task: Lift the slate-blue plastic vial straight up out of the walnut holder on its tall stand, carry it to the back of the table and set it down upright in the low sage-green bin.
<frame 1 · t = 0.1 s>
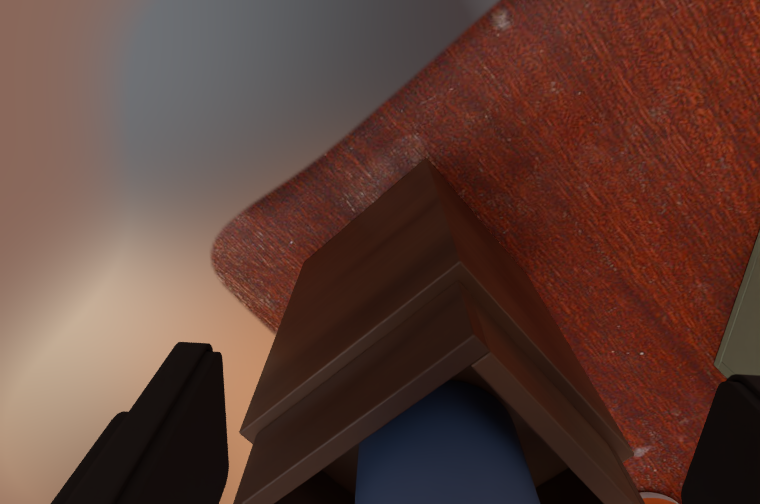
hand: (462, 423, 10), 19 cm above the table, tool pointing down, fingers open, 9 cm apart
stand: (437, 444, 17), on the table
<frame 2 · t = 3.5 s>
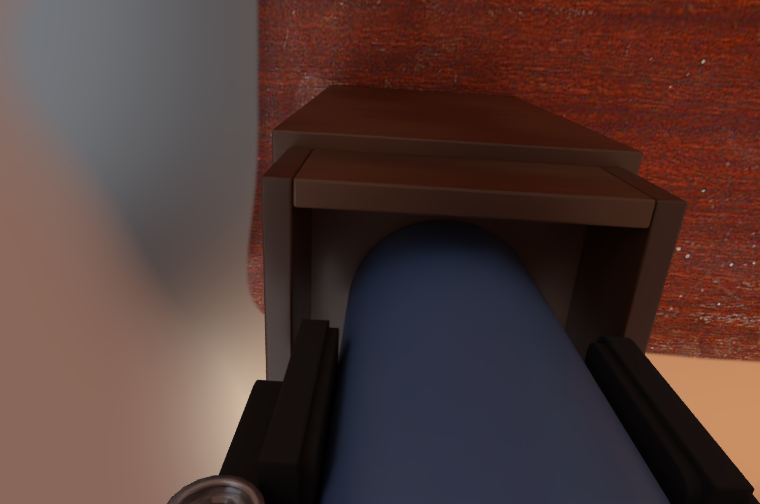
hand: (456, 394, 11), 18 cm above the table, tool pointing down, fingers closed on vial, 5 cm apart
stand: (439, 307, 14), on the table
vial: (461, 415, 10), in the stand, point 18 cm above the table, touching gripper
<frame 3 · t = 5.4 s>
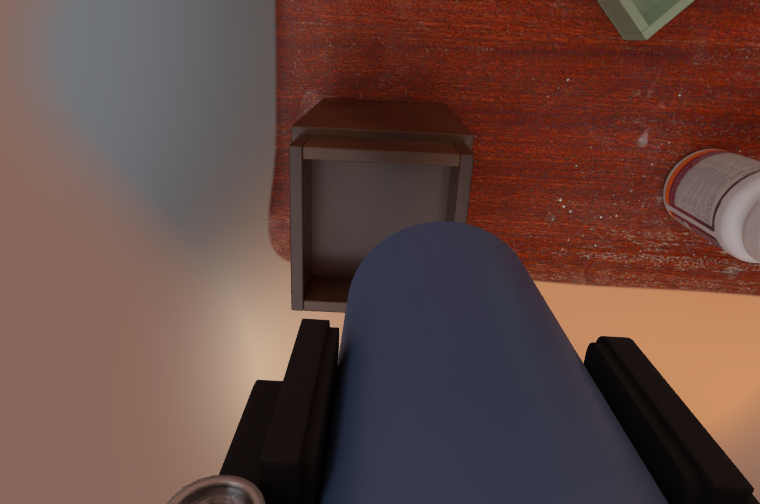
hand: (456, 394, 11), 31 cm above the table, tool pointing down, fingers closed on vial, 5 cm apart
pill bottle: (698, 185, 41), on the table
stand: (378, 217, 28), on the table
vial: (460, 416, 10), point 32 cm above the table, touching gripper
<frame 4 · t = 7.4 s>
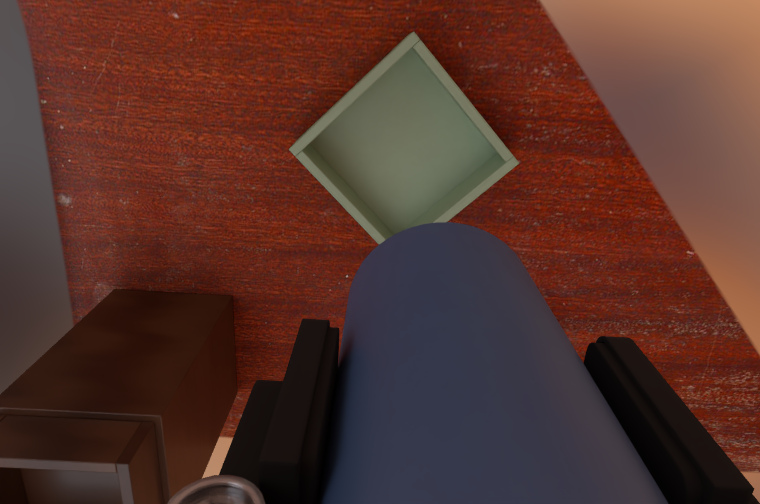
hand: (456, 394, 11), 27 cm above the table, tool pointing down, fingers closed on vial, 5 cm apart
stand: (86, 478, 29), on the table
vial: (461, 418, 10), point 28 cm above the table, touching gripper
bin: (402, 146, 36), on the table
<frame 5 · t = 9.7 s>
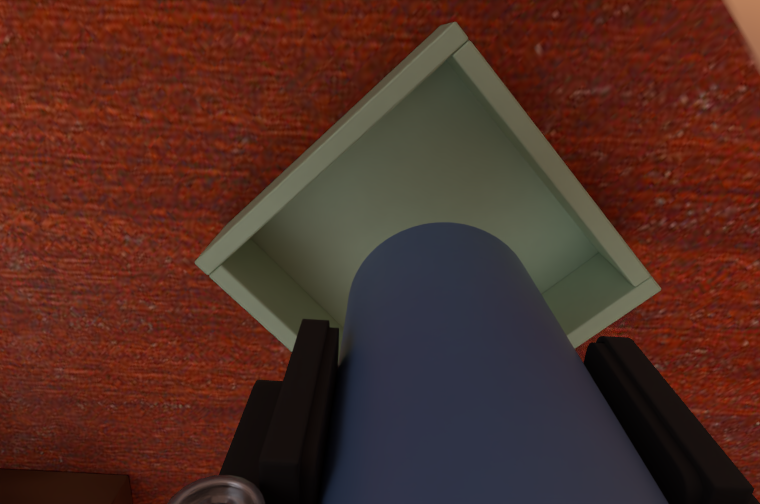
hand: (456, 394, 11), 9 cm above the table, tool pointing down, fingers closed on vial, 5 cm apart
vial: (461, 418, 10), point 10 cm above the table, touching gripper
bin: (421, 237, 19), on the table
when the fingers open (4 cm above the table, at t = 11.6 s): vial stays where it is, resting on bin.
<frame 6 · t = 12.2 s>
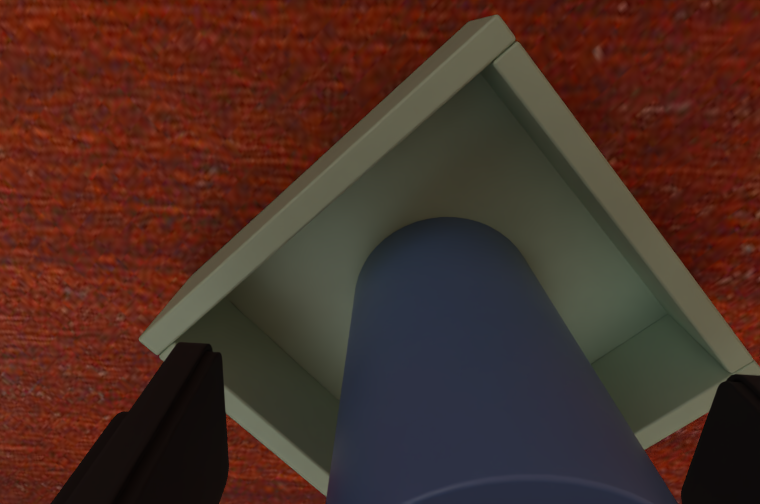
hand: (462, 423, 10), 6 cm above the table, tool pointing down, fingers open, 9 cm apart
vial: (464, 402, 11), in the bin
bin: (439, 291, 15), on the table
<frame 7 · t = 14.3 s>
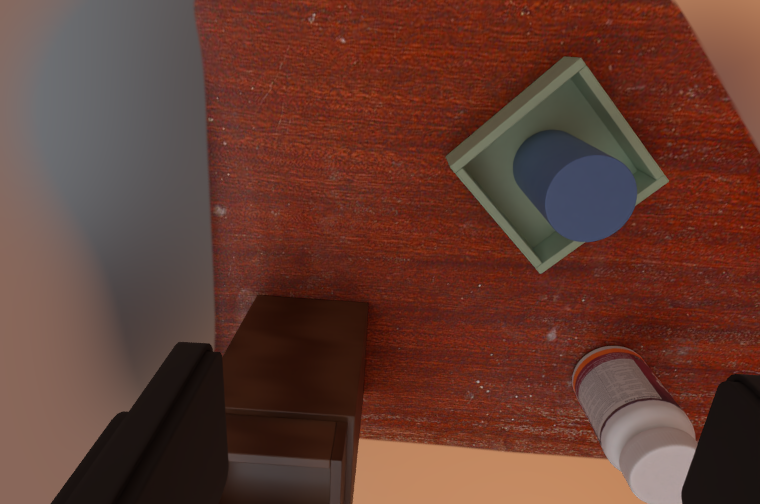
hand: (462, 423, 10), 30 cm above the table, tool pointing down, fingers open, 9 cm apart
pill bottle: (606, 372, 44), on the table
stand: (276, 473, 31), on the table
vial: (566, 180, 33), in the bin
bin: (545, 162, 38), on the table
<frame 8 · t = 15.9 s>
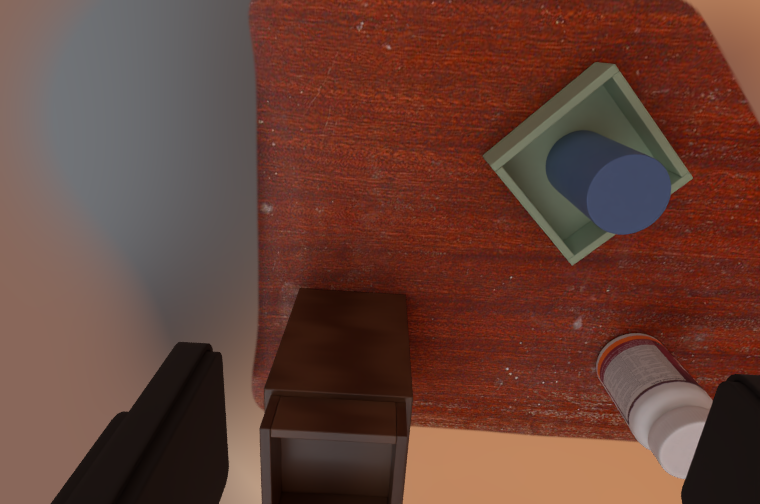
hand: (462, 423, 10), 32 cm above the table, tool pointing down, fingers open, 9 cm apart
pill bottle: (627, 359, 47), on the table
stand: (336, 452, 34), on the table
vial: (600, 177, 36), in the bin
bin: (575, 161, 41), on the table
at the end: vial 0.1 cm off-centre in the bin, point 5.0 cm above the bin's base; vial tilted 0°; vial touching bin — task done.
